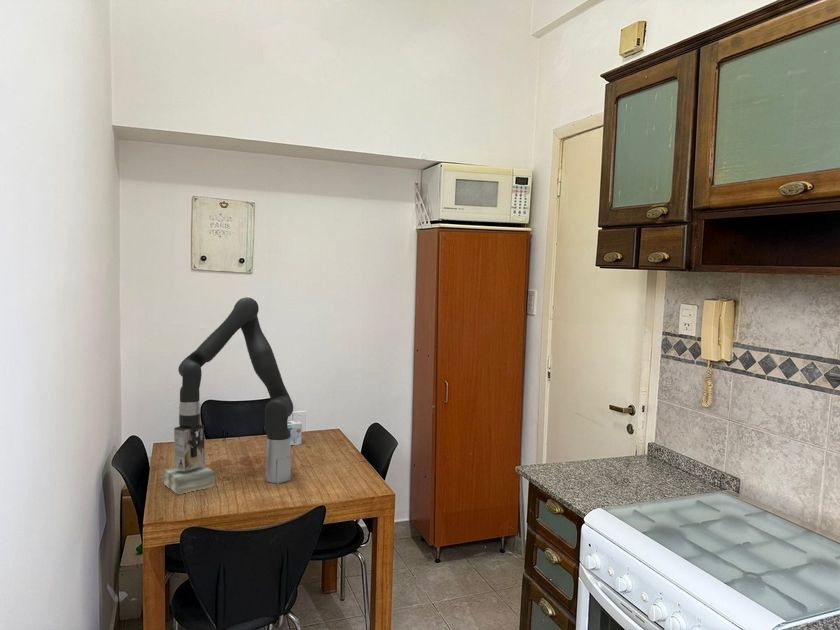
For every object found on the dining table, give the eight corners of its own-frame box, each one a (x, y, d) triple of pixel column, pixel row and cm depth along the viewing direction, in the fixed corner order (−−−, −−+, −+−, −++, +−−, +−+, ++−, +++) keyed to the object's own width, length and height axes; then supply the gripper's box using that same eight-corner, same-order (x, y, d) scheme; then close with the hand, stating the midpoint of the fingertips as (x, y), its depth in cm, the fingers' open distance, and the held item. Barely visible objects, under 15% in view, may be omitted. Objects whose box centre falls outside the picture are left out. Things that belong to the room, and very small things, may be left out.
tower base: (214, 486, 226) (214, 471, 226) (178, 495, 216) (178, 479, 216) (199, 477, 236) (199, 462, 236) (163, 484, 226) (163, 469, 226)
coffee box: (194, 462, 231) (194, 422, 230) (205, 465, 228) (205, 425, 227) (173, 468, 224) (173, 427, 223) (184, 472, 220) (184, 429, 219)
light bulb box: (280, 447, 281) (280, 425, 280) (276, 443, 286) (277, 421, 286) (302, 444, 286) (302, 423, 285) (298, 441, 291) (298, 420, 291)
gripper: (207, 414, 222) (207, 457, 223) (191, 407, 232) (191, 448, 233) (187, 417, 217) (187, 461, 218) (172, 410, 227) (172, 452, 228)
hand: (189, 454), depth 226 cm, fingers closed on coffee box, 7 cm apart
